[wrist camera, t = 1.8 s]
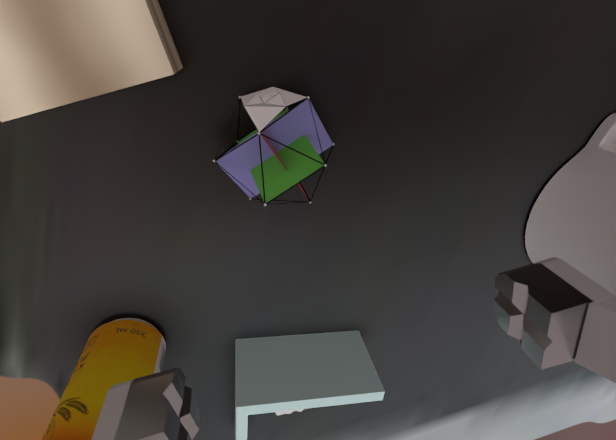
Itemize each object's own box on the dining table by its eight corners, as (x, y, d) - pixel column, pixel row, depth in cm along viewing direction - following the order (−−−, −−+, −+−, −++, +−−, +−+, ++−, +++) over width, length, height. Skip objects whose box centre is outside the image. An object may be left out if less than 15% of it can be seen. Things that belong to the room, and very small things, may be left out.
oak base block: (113, -119, 18) (82, -159, 15) (183, 67, 23) (174, 74, 19) (-66, -74, 18) (-149, -104, 14) (41, 106, 22) (1, 122, 18)
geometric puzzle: (355, 181, 26) (351, 152, 18) (276, 232, 27) (239, 225, 19) (303, 101, 27) (278, 41, 19) (228, 152, 28) (173, 114, 20)
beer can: (83, 315, 29) (-35, 545, 16) (163, 310, 30) (113, 519, 17) (97, 368, 32) (6, 602, 19) (170, 361, 33) (132, 576, 20)
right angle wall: (234, 418, 39) (235, 495, 33) (235, 334, 34) (236, 407, 27) (341, 406, 42) (361, 476, 35) (357, 326, 36) (384, 391, 30)
